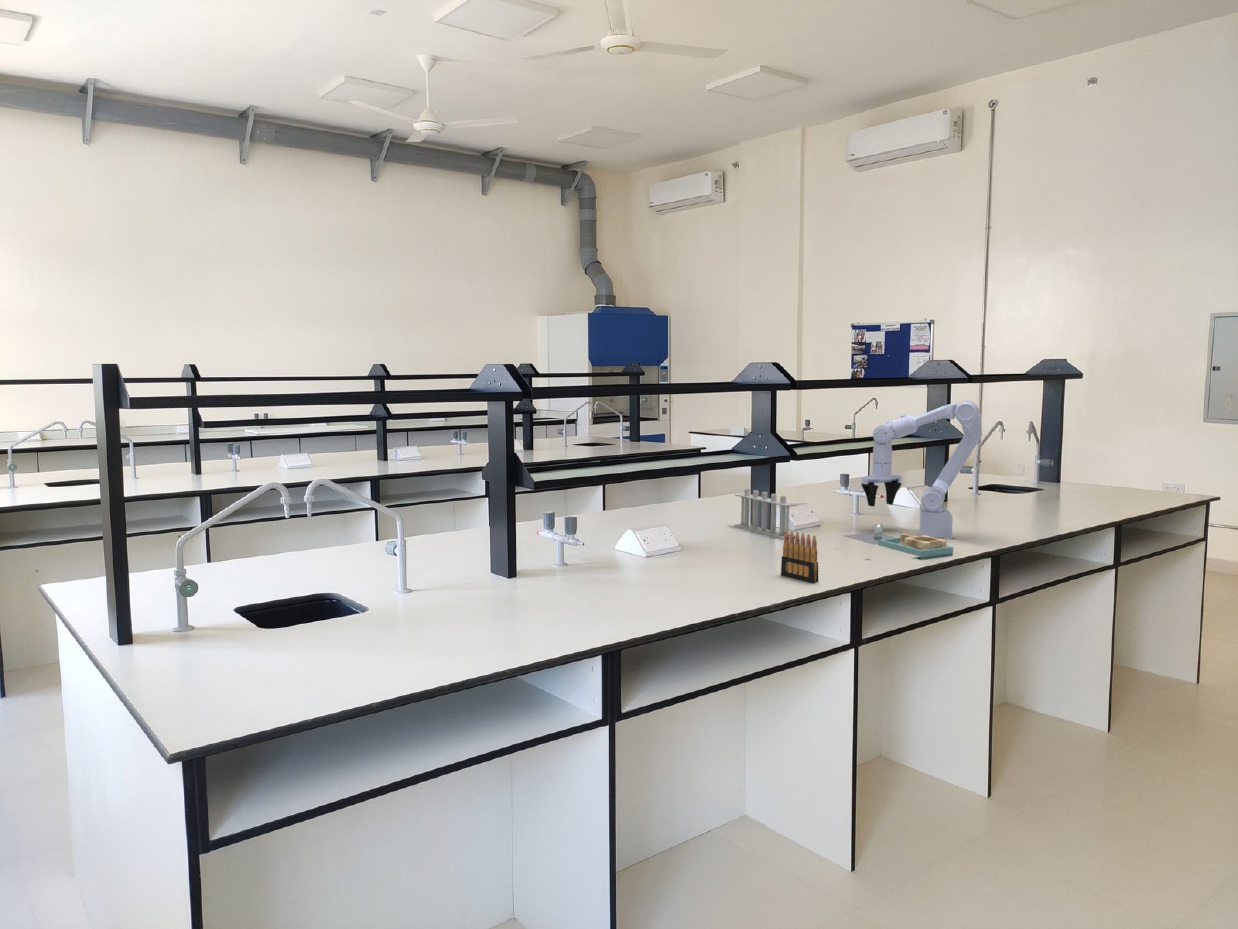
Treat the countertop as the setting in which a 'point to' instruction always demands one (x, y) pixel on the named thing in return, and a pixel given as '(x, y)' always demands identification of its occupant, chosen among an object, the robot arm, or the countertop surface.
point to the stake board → (871, 535)
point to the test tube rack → (764, 513)
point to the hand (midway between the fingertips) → (880, 505)
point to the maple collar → (921, 542)
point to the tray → (924, 554)
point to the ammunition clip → (800, 558)
